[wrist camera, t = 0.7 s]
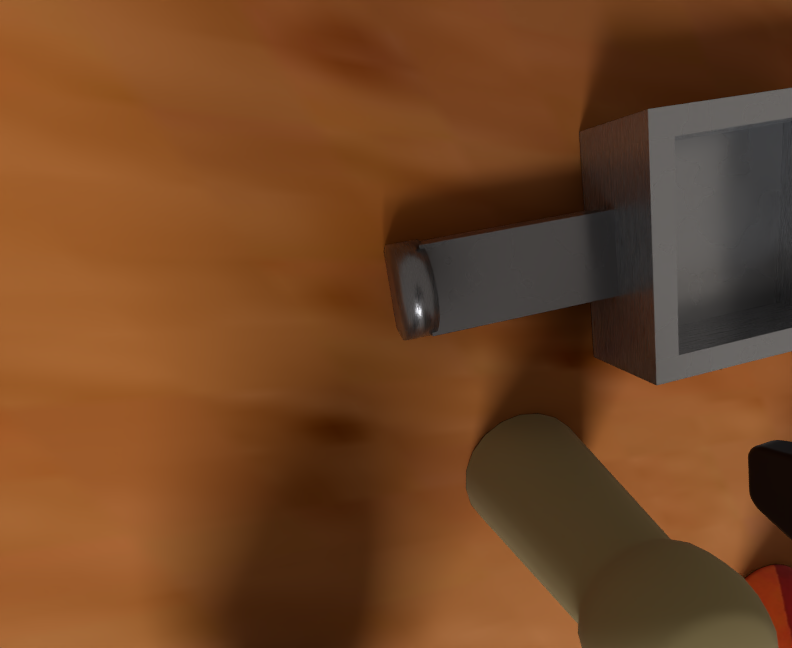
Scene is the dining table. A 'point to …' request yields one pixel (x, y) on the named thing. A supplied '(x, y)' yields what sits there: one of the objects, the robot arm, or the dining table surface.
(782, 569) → the paper cup
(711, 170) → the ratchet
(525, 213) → the dining table surface
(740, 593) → the cork
